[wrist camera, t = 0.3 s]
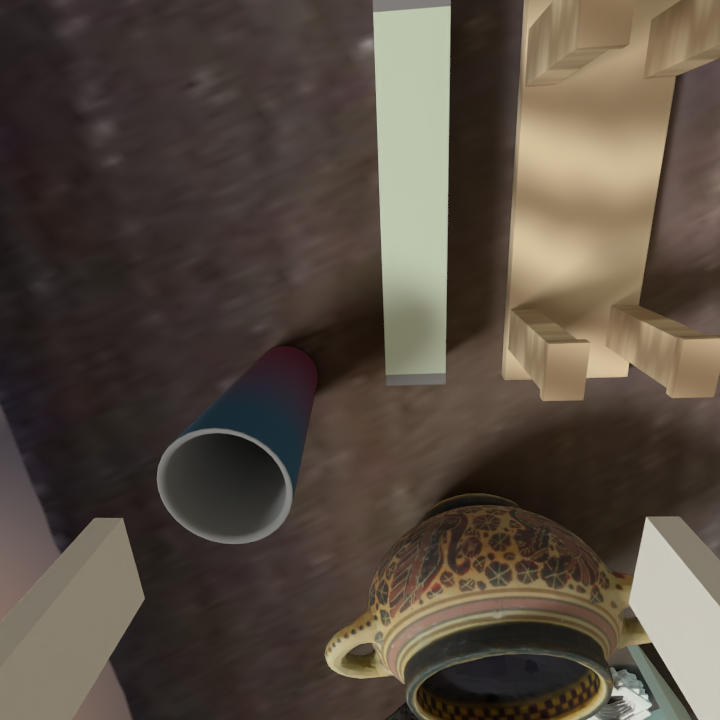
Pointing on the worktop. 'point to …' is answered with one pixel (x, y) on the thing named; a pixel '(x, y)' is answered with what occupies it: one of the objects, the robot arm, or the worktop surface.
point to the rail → (413, 183)
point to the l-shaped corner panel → (641, 694)
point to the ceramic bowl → (492, 617)
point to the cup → (243, 452)
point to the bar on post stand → (598, 194)
